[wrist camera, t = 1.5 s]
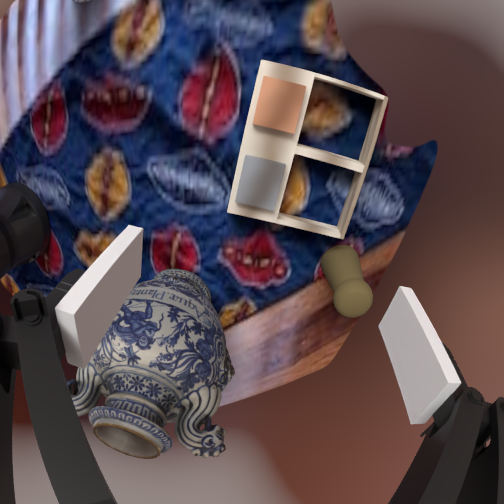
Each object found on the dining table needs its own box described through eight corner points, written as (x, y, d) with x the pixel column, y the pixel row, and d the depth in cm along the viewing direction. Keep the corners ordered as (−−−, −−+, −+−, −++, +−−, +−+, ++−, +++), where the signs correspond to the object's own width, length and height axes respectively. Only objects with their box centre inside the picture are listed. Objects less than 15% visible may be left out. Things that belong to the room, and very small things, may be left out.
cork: (347, 284, 49) (363, 329, 39) (314, 272, 48) (323, 317, 39) (365, 252, 46) (387, 294, 37) (331, 239, 46) (347, 279, 36)
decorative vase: (254, 258, 48) (235, 428, 23) (235, 345, 57) (215, 488, 32) (119, 233, 47) (16, 362, 22) (124, 320, 56) (63, 445, 31)
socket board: (229, 204, 44) (226, 215, 40) (261, 62, 35) (261, 58, 31) (338, 230, 45) (344, 242, 41) (380, 97, 36) (391, 97, 32)
